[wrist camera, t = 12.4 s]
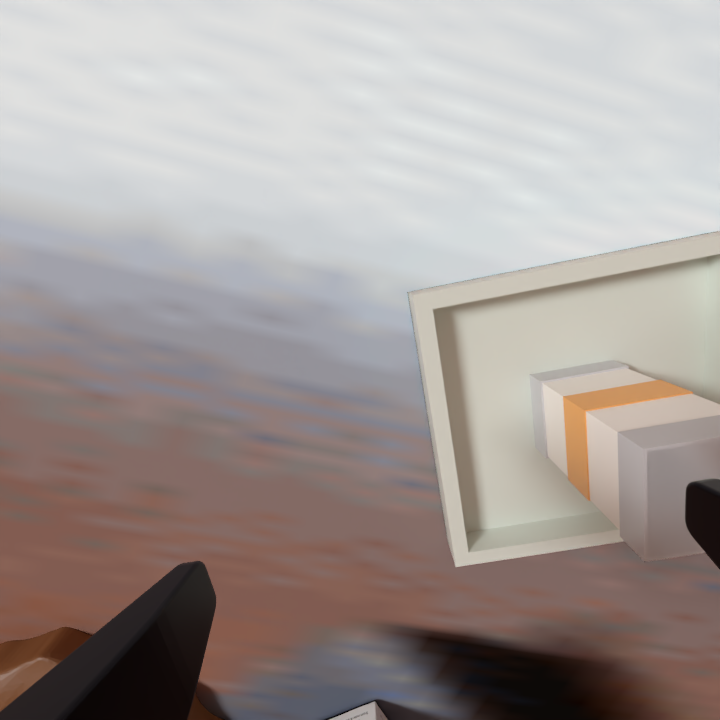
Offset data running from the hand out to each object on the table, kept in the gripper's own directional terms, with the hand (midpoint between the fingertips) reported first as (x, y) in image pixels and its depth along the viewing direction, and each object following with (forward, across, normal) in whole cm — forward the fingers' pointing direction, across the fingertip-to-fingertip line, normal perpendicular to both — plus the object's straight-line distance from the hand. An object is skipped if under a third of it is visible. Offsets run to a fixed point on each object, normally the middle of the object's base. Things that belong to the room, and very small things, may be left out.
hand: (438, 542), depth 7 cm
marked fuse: (+12, -9, +4) cm, 16 cm away
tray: (+13, -9, +4) cm, 16 cm away
